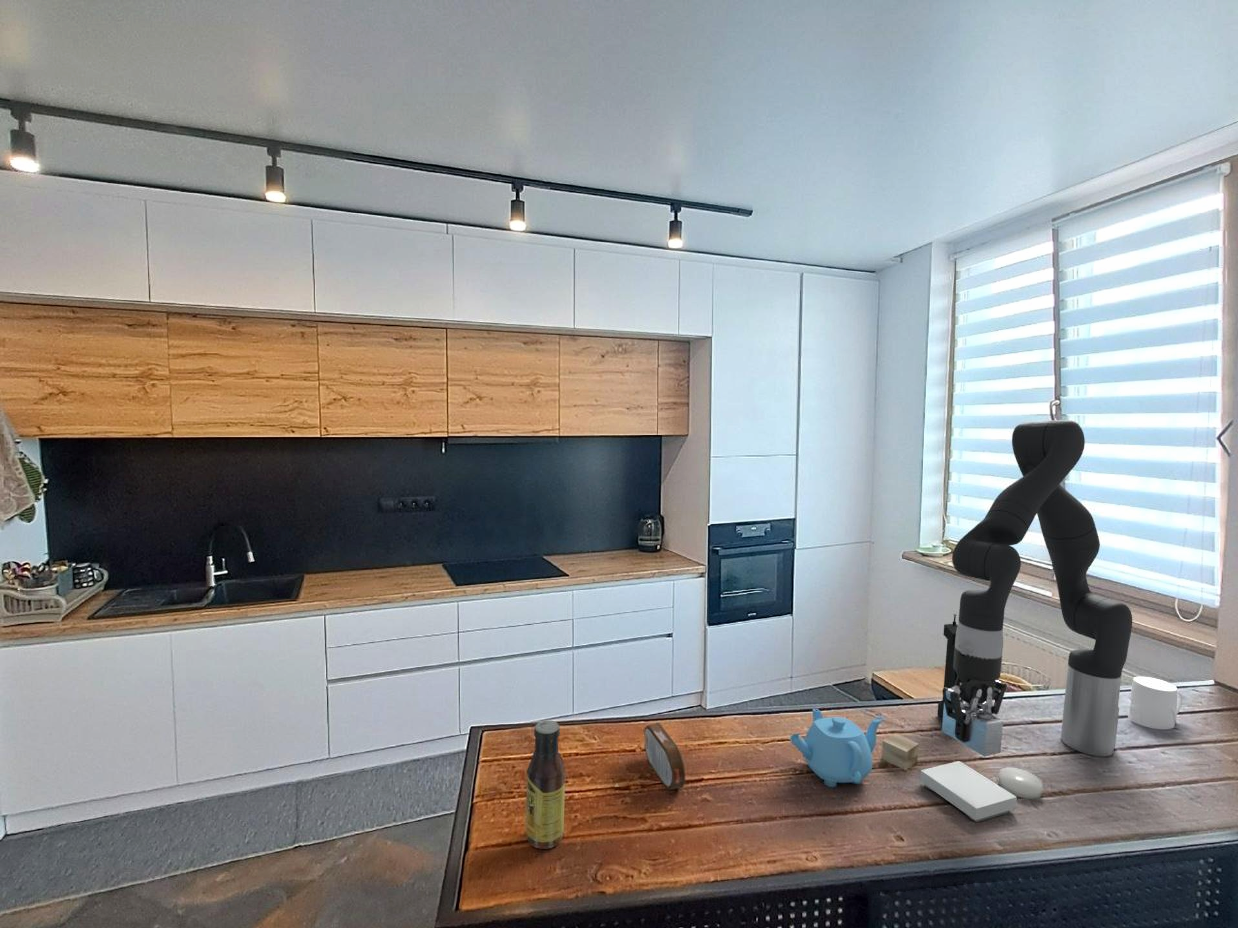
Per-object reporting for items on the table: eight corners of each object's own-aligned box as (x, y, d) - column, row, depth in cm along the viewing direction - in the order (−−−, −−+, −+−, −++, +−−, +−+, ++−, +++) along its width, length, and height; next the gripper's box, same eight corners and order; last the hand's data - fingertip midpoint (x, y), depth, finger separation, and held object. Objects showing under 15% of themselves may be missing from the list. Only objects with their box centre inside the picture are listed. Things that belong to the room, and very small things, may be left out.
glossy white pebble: (1015, 773, 124) (1016, 764, 124) (1050, 794, 118) (1051, 784, 117) (990, 780, 122) (991, 771, 121) (1024, 802, 115) (1025, 792, 115)
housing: (957, 727, 120) (959, 695, 119) (1000, 752, 112) (1003, 717, 111) (941, 731, 118) (944, 698, 118) (984, 756, 110) (987, 721, 110)
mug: (1154, 691, 142) (1121, 676, 150) (1150, 730, 143) (1117, 713, 151) (1199, 689, 144) (1164, 674, 151) (1194, 728, 144) (1160, 711, 152)
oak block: (894, 751, 132) (895, 733, 131) (917, 762, 128) (918, 743, 127) (881, 758, 129) (882, 740, 128) (905, 770, 125) (906, 751, 124)
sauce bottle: (527, 826, 105) (528, 714, 103) (564, 825, 106) (565, 713, 104) (524, 854, 99) (525, 735, 97) (563, 852, 99) (565, 734, 97)
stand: (957, 775, 123) (959, 760, 123) (1015, 812, 112) (1016, 796, 112) (919, 784, 120) (920, 770, 119) (975, 824, 109) (976, 808, 108)
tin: (685, 797, 114) (687, 753, 114) (670, 800, 113) (671, 756, 112) (655, 753, 128) (656, 714, 128) (640, 755, 127) (642, 716, 127)
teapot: (813, 744, 133) (816, 694, 132) (880, 768, 125) (884, 714, 124) (786, 778, 121) (789, 722, 120) (858, 806, 113) (862, 747, 112)
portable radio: (976, 734, 139) (985, 626, 137) (947, 731, 140) (955, 624, 138) (964, 717, 147) (972, 615, 144) (936, 714, 148) (944, 612, 145)
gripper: (987, 637, 119) (980, 722, 121) (932, 645, 114) (925, 734, 116) (1025, 651, 112) (1016, 741, 114) (967, 661, 107) (959, 755, 109)
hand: (970, 737), depth 115 cm, fingers closed on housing, 4 cm apart
